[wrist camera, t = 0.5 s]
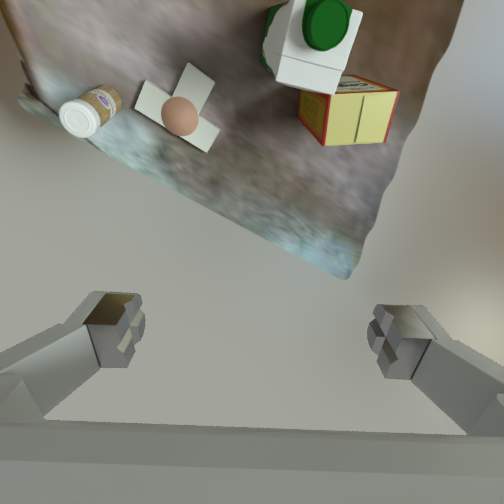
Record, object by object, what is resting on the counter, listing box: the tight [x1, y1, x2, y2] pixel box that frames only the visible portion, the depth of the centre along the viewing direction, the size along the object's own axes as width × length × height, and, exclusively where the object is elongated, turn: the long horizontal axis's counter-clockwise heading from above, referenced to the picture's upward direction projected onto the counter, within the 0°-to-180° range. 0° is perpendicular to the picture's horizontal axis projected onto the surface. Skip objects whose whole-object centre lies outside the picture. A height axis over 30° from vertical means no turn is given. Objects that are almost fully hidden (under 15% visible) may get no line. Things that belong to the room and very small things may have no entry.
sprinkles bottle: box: [59, 85, 122, 138], centre depth 41 cm, size 5×5×14 cm
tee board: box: [134, 62, 220, 153], centre depth 48 cm, size 11×14×1 cm
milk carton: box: [260, 0, 363, 95], centre depth 36 cm, size 9×9×20 cm
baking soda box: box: [298, 75, 400, 146], centre depth 44 cm, size 10×6×16 cm
